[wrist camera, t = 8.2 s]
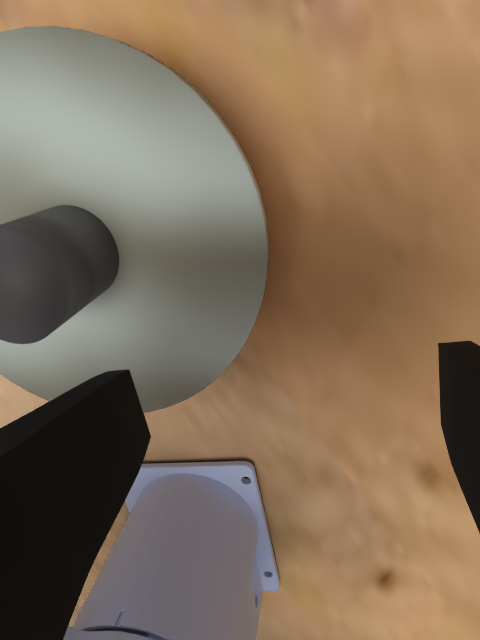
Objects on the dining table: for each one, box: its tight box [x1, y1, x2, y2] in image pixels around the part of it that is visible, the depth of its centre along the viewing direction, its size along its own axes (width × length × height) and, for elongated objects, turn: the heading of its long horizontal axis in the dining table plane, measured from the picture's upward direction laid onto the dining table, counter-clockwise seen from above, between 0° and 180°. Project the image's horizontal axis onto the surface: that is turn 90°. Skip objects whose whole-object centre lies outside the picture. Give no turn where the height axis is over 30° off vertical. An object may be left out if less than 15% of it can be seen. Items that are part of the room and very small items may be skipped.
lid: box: [0, 26, 269, 413], centre depth 14 cm, size 13×13×4 cm
